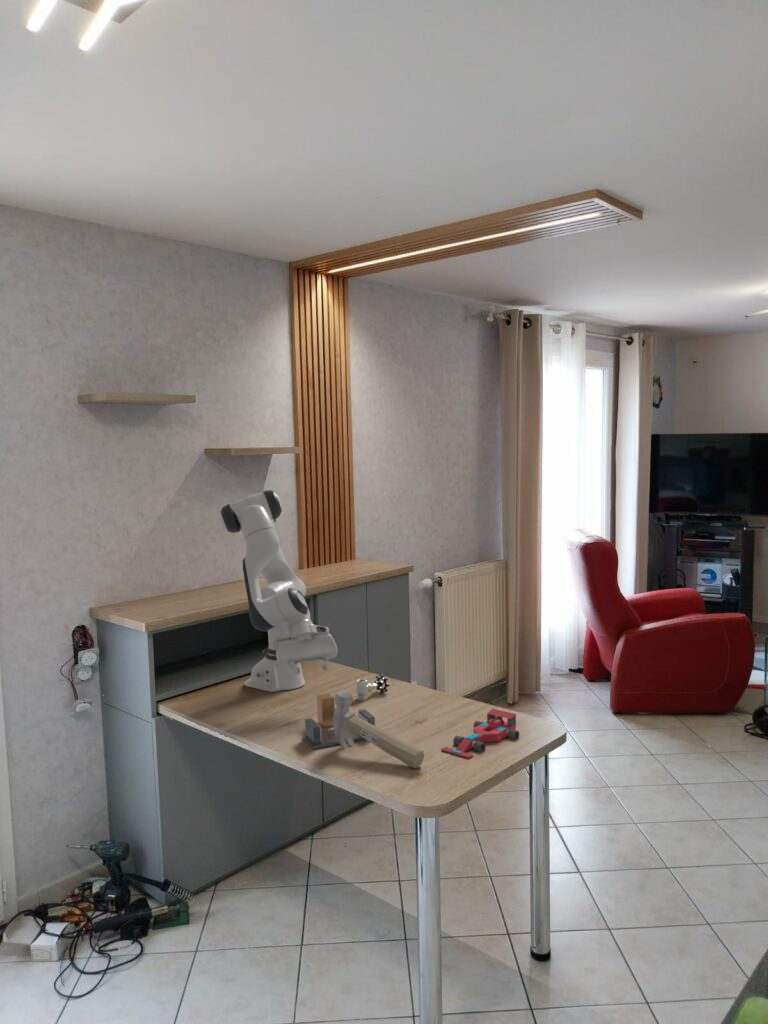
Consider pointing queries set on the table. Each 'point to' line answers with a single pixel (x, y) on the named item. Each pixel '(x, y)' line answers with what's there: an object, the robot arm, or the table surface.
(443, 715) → the table surface
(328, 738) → the vise jaws
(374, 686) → the valve
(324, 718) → the wooden rectangular block
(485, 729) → the race car
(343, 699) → the hammer
